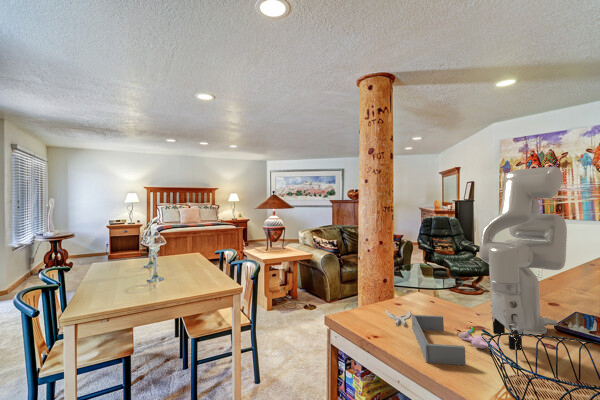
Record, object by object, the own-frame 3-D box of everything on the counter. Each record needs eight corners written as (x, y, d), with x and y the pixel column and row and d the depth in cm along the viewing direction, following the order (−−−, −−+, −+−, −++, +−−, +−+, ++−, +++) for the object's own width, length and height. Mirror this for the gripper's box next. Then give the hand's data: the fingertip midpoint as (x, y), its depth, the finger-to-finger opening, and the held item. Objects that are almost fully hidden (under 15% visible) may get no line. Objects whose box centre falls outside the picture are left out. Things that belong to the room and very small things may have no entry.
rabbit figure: (453, 341, 96) (489, 357, 81) (450, 323, 97) (486, 335, 82) (469, 339, 97) (508, 354, 82) (466, 320, 98) (504, 333, 83)
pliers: (409, 308, 119) (414, 323, 104) (409, 312, 119) (414, 328, 104) (385, 307, 121) (386, 322, 107) (385, 310, 121) (387, 326, 107)
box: (443, 329, 101) (442, 316, 101) (465, 365, 80) (465, 347, 80) (412, 328, 103) (411, 314, 103) (426, 362, 82) (425, 345, 82)
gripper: (535, 296, 78) (538, 357, 78) (503, 278, 95) (506, 329, 95) (505, 295, 79) (507, 355, 79) (479, 278, 96) (481, 328, 96)
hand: (506, 341), depth 87 cm, fingers open, 9 cm apart
